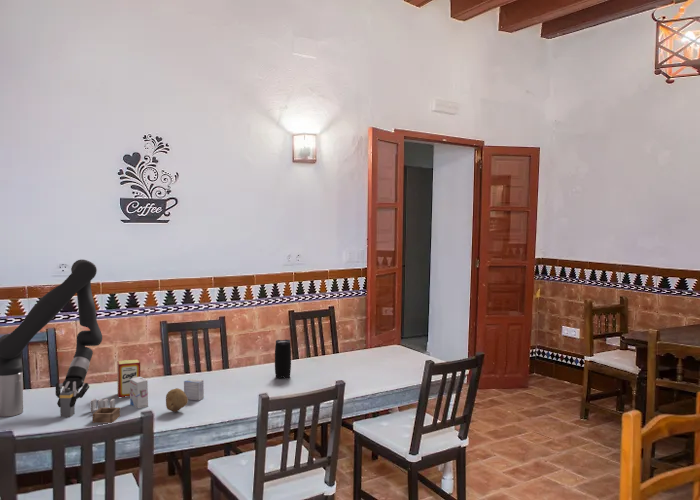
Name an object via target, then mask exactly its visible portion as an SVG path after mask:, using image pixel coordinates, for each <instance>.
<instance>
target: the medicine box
mask: <svg viewBox="0 0 700 500" xmlns="http://www.w3.org/2000/svg"><path fill="white" fill-rule="evenodd" d="M204 384H205V383H204V379H198V378H197V379H196V378H195V379H194V378H187V379H185V380H184V381H183V391H184V393H185V394H186V396H187V398H188V401H201V400H203V399H204V398H205V396H204V394H205V393H204V392H205V391H204V390H205V389H204Z"/></svg>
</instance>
